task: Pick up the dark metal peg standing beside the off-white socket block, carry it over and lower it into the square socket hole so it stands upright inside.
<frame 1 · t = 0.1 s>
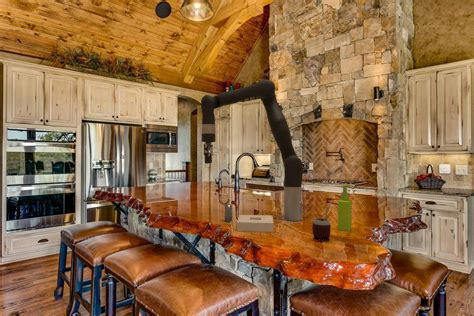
hand: (208, 163, 158), 29 cm above the kitchen island, tool pointing down, fingers open, 8 cm apart
mate gourd: (321, 239, 118), on the kitchen island
soap dispenser: (345, 230, 133), on the kitchen island
peg: (228, 221, 149), on the kitchen island
socket block: (255, 227, 137), on the kitchen island
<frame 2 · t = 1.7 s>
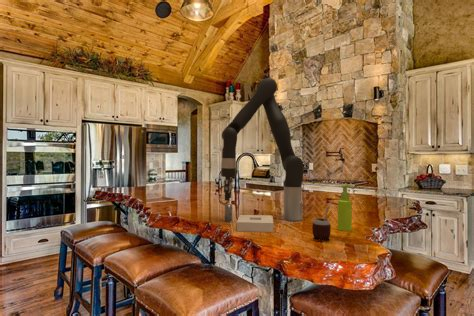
hand: (228, 199, 149), 11 cm above the kitchen island, tool pointing down, fingers open, 8 cm apart
nothing on the kitchen island moved.
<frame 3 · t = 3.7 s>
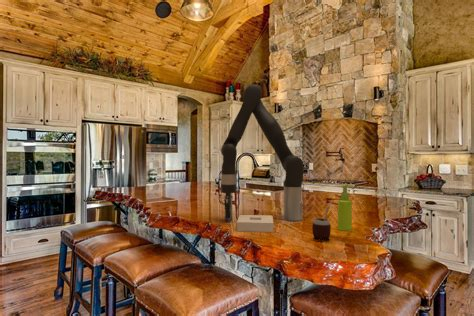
hand: (228, 216, 149), 2 cm above the kitchen island, tool pointing down, fingers closed on peg, 3 cm apart
peg: (228, 221, 149), on the kitchen island, touching gripper
everything else where it was.
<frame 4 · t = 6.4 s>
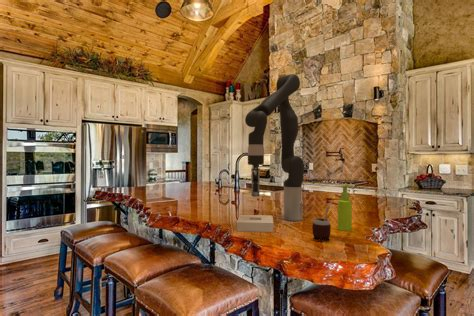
hand: (255, 191, 137), 17 cm above the kitchen island, tool pointing down, fingers closed on peg, 3 cm apart
peg: (255, 196, 137), point 15 cm above the kitchen island, touching gripper
everything else where it was.
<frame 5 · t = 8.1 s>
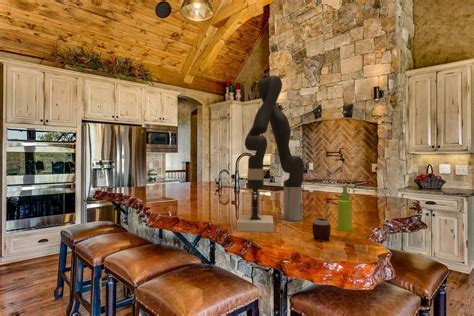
hand: (255, 215, 137), 6 cm above the kitchen island, tool pointing down, fingers closed on peg, 3 cm apart
peg: (254, 219, 137), point 3 cm above the kitchen island, touching gripper
everything else where it was.
when the fingers open (5 cm above the kitchen island, at t = 9.3 s): peg drops 2 cm, resting in socket block.
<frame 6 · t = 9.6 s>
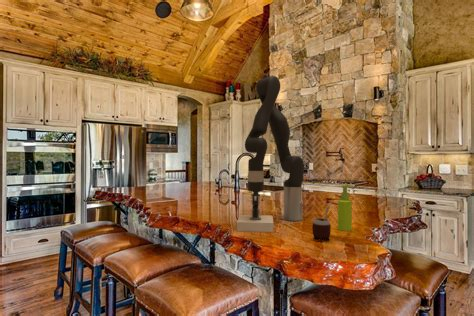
hand: (255, 216, 137), 5 cm above the kitchen island, tool pointing down, fingers open, 6 cm apart
peg: (255, 227, 137), resting in socket block
everything else where it was.
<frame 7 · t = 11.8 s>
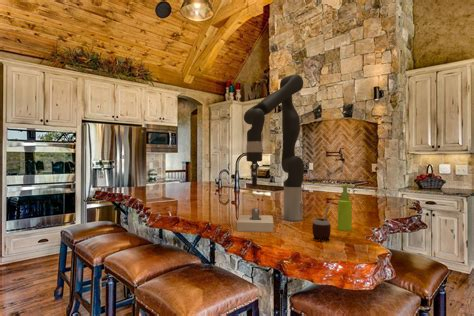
hand: (254, 185, 139), 19 cm above the kitchen island, tool pointing down, fingers open, 8 cm apart
nothing on the kitchen island moved.
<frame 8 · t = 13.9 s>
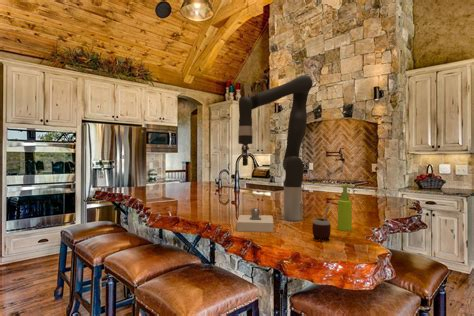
hand: (245, 165, 156), 28 cm above the kitchen island, tool pointing down, fingers open, 8 cm apart
nothing on the kitchen island moved.
at the end: peg 0.1 cm off-centre on the socket block, point 0.0 cm above the socket block's base; peg tilted 1°; the gripper is holding nothing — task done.
